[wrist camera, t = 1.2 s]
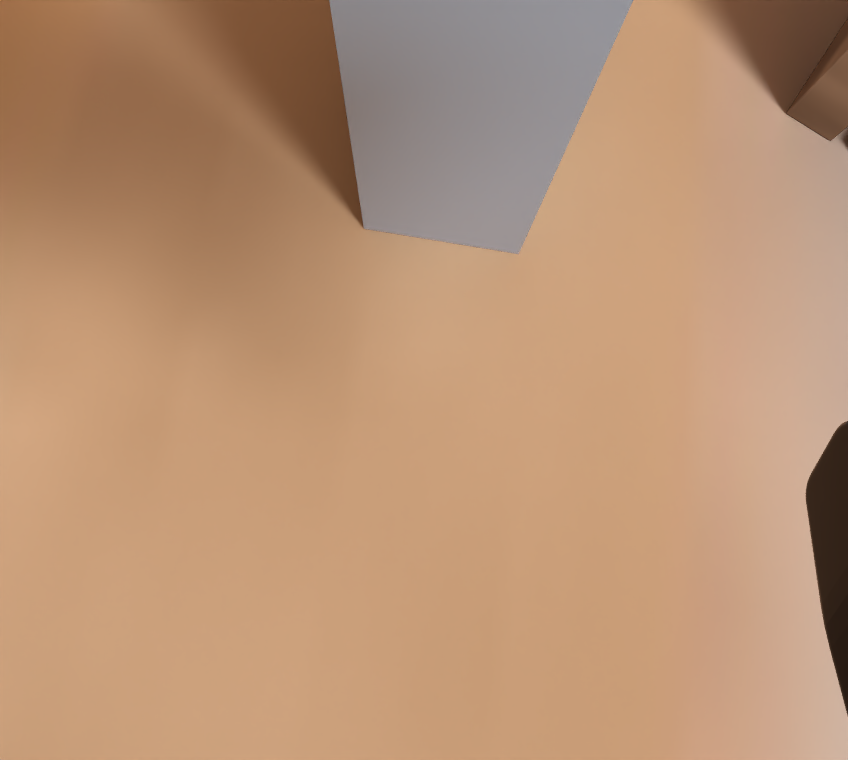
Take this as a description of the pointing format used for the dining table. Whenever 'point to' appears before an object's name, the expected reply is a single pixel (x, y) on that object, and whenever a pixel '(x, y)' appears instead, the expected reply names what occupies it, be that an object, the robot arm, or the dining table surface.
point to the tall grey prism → (465, 108)
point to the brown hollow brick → (826, 91)
